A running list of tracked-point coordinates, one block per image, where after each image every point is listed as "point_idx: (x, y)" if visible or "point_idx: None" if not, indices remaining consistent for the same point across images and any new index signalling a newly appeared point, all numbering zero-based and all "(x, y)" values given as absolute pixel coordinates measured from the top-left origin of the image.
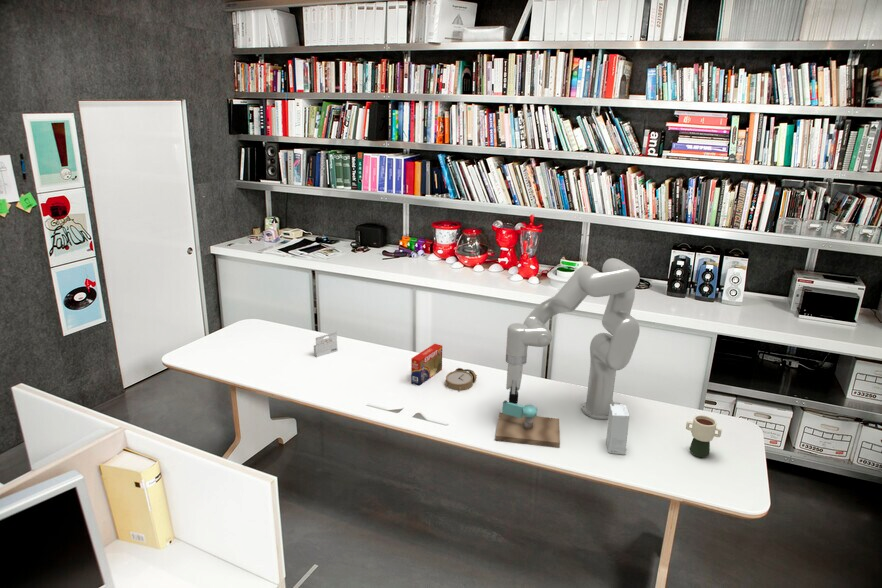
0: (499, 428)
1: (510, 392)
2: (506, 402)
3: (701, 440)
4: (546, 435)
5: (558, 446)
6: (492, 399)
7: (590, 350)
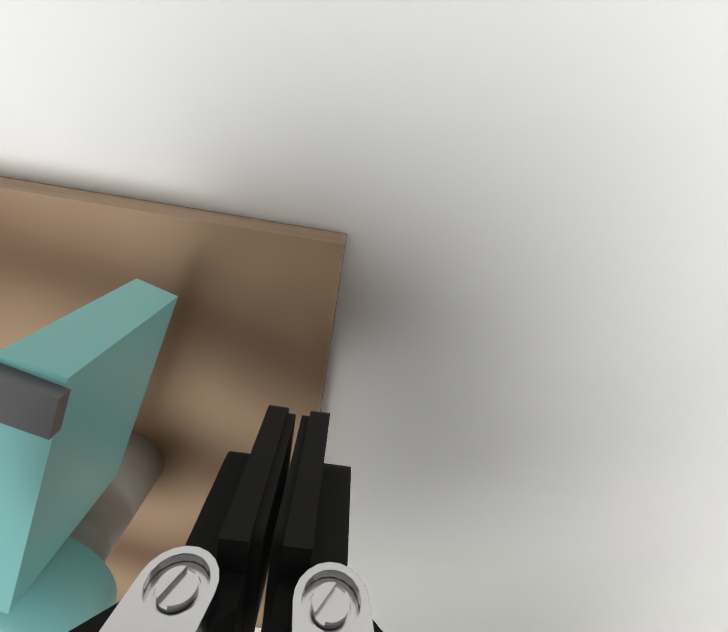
0: (15, 215)
1: (120, 612)
2: (9, 415)
3: None
4: None
5: None
6: (690, 192)
7: None
